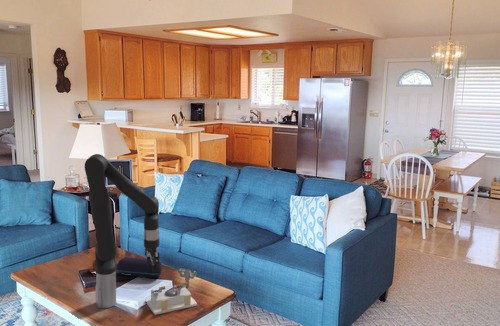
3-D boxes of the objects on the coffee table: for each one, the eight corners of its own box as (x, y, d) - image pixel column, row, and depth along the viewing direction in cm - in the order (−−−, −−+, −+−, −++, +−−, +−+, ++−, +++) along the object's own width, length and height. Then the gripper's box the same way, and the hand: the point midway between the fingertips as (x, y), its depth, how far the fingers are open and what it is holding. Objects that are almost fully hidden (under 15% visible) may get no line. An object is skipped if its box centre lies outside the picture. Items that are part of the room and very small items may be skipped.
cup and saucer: (87, 269, 263) (87, 259, 261) (108, 266, 267) (108, 256, 266) (89, 277, 252) (89, 267, 251) (111, 274, 257) (111, 264, 256)
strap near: (160, 290, 217) (160, 286, 218) (154, 292, 227) (153, 289, 227) (165, 289, 218) (165, 286, 219) (158, 291, 228) (158, 288, 228)
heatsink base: (154, 314, 215) (154, 302, 214) (145, 301, 228) (145, 289, 226) (197, 305, 226) (197, 293, 225) (185, 292, 239) (186, 281, 237)
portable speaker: (164, 274, 261) (164, 257, 259) (159, 281, 251) (159, 264, 249) (122, 270, 263) (122, 254, 261) (115, 277, 253) (115, 260, 251)
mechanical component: (195, 290, 242) (195, 272, 241) (177, 287, 244) (177, 270, 243) (196, 287, 245) (197, 270, 243) (179, 285, 247) (179, 268, 245)
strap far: (184, 285, 223) (183, 282, 224) (176, 288, 233) (176, 285, 233) (188, 284, 224) (187, 281, 225) (180, 287, 234) (180, 284, 234)
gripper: (139, 234, 223) (140, 264, 226) (148, 243, 211) (149, 275, 214) (153, 231, 227) (154, 261, 230) (164, 240, 215) (164, 272, 218)
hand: (152, 268), depth 222 cm, fingers open, 8 cm apart
